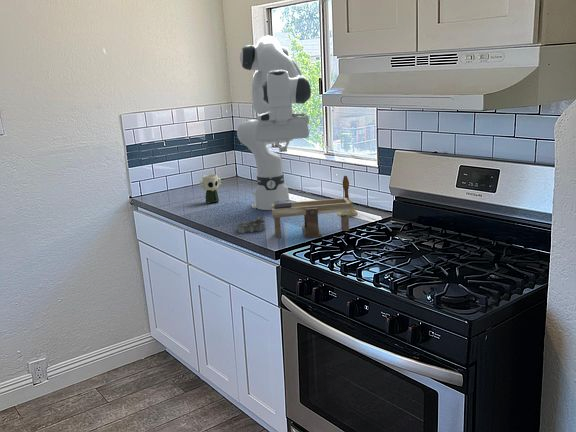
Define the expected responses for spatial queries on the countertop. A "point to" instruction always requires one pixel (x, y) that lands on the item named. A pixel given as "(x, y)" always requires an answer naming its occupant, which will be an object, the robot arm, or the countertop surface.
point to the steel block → (282, 204)
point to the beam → (321, 205)
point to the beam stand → (312, 224)
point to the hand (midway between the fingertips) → (283, 151)
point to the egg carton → (252, 225)
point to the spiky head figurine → (210, 187)
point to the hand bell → (346, 187)
